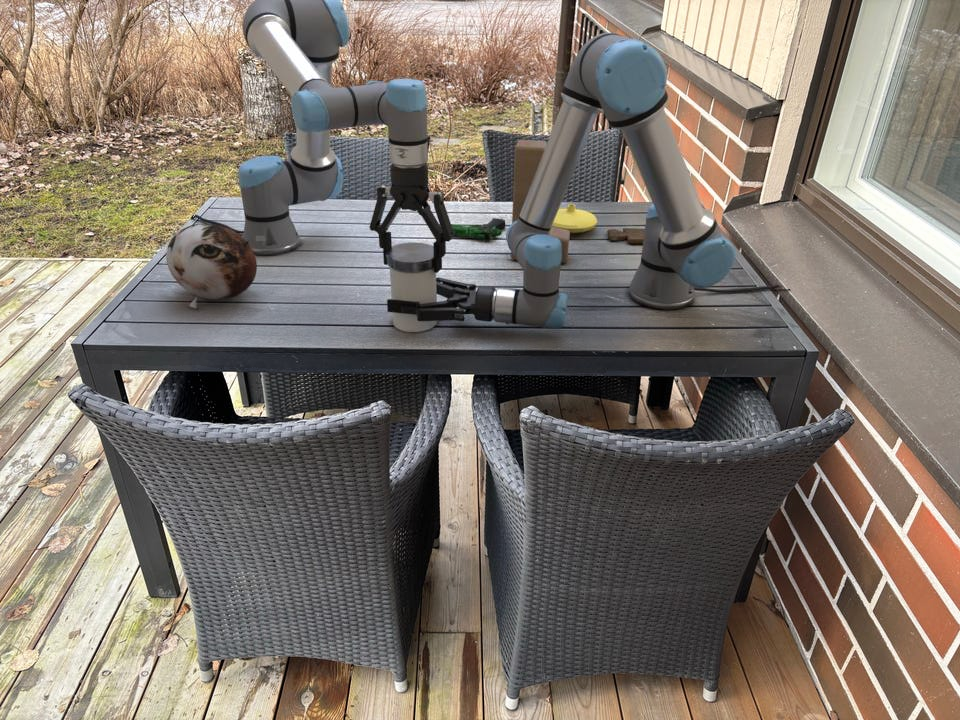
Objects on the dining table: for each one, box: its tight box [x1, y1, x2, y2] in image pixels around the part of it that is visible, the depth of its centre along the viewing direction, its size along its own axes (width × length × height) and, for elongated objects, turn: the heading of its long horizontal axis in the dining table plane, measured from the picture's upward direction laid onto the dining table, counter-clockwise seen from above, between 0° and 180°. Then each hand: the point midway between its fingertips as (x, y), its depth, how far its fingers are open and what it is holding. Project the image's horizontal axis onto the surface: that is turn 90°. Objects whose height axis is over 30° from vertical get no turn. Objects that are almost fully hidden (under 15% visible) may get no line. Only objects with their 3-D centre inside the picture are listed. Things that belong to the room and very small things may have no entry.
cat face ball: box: [165, 222, 258, 309], centre depth 165 cm, size 22×18×20 cm
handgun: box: [451, 217, 506, 242], centre depth 207 cm, size 16×3×15 cm
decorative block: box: [510, 139, 571, 264], centre depth 184 cm, size 8×15×30 cm, turn 82°
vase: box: [552, 203, 598, 234], centre depth 209 cm, size 16×16×7 cm
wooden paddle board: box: [606, 227, 645, 244], centre depth 205 cm, size 26×2×10 cm
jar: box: [389, 267, 438, 333], centre depth 155 cm, size 10×10×16 cm
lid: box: [386, 242, 434, 272], centre depth 152 cm, size 11×11×2 cm
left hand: (412, 266), depth 153 cm, fingers closed on lid, 11 cm apart
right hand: (395, 295), depth 157 cm, fingers closed on jar, 10 cm apart
